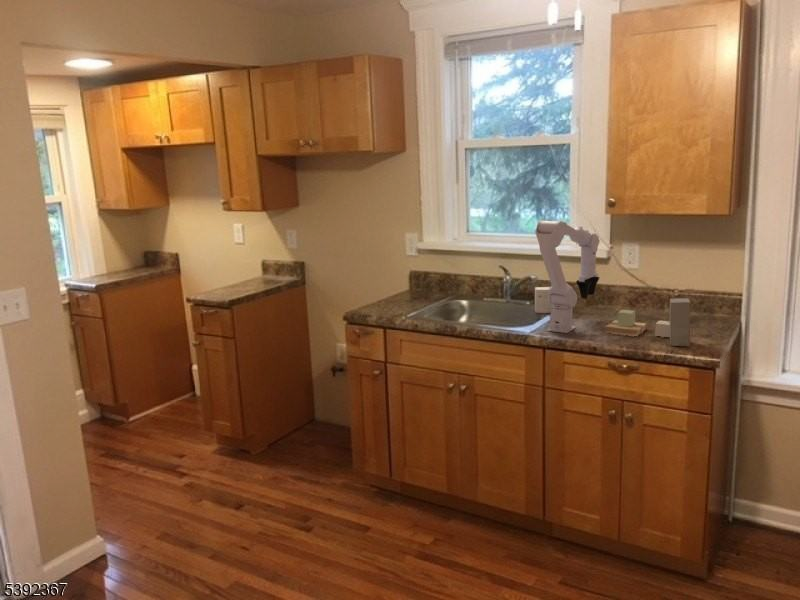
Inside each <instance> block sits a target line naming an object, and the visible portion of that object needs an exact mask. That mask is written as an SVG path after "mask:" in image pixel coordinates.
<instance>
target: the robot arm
mask: <svg viewBox="0 0 800 600" xmlns="http://www.w3.org/2000/svg"><path fill="white" fill-rule="evenodd" d="M534 232H535V235H536V239H537V242H538V244H539V246H538V247H539V251H540V254H541V257H542V260H543V263H544V266H545V270H546V273H547V274H548V278H549V281H550V286H549V287H550V288H549V290H548V293H549V302H550V303H551V304H552V307H553V312H552V313H549V314H550V315H549V328H548V329H547V331H548V332H554V333H555V332H556V333H564V334H567V333H570V332H571V331H573V330H574V329H576V327H577V326H575V325H573V309H574V308H575V306H576V304H578V303H577V302H578V294H577V291H575V290H574V287H573V286H572V285H570V284H568V283H567V281H566V277H565V275H564V273H563V269H562V265H561V263H560V260H559V259H560V258H559V256H558V253H557V248H558V247H559V246H560V245H561V243H562V241H563V239H564V238H565V236H568V237H569V239H570V241H571V242H574V243H576V244H578V246H579V247H580V274H579V277H578V279H577V280H576V282H575V283H576V285H577V286H578V289H579V293H580V294H579V295H580V297H581V299H588V296H589V295H591V296H592V295H593V296H594V294H595V290H596V287H597V285H598V281H600V276H599V273H597V270H596V264H597V262H596V261H597V252H598V248H599V244H600V241H601V240H600V239H599V238H600V237H599V235H598V234H596V233H594V232H593V233H592V232H590V231H589V230H584V229H583V226H576V227H573V226H571V225H569V224H567V221H566V222H565V221H562V220H560V221H555V220H554V221H553V220H543V219H541V220H540V221H538V222H537V225H536V228H535V231H534Z"/></svg>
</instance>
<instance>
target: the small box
mask: <svg viewBox="0 0 800 600" xmlns="http://www.w3.org/2000/svg"><path fill="white" fill-rule="evenodd" d="M550 287H551V286H537V287H534V311H535V313H536V314H548V313H549V314H551V313H552V312H553V307H552V304H551V303H550V302H549V293H548V290H549V288H550Z"/></svg>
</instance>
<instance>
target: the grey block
mask: <svg viewBox="0 0 800 600" xmlns="http://www.w3.org/2000/svg"><path fill="white" fill-rule="evenodd" d="M656 336H661V337H660V338H664V337H670V321H667V320H658V321H657V322H655V331H654V337H656Z"/></svg>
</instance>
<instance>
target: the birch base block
mask: <svg viewBox="0 0 800 600" xmlns="http://www.w3.org/2000/svg"><path fill="white" fill-rule="evenodd" d="M644 330H645V331H646V330H647V322H646V323H645V322H639V321H638V322H636V321H635V324H634V325H633V326H631V327H630V326H620V325H618V319H614V320H613V321H612V322H610V323H608V324H607V325H605V326H604V334H609V333H611V335H618V334H619V336H626V335H628V337H634V336H637V337H639V336H640V335H642V334H643V331H644ZM645 331H644V332H645ZM639 334H640V335H639ZM638 335H639V336H638Z"/></svg>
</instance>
